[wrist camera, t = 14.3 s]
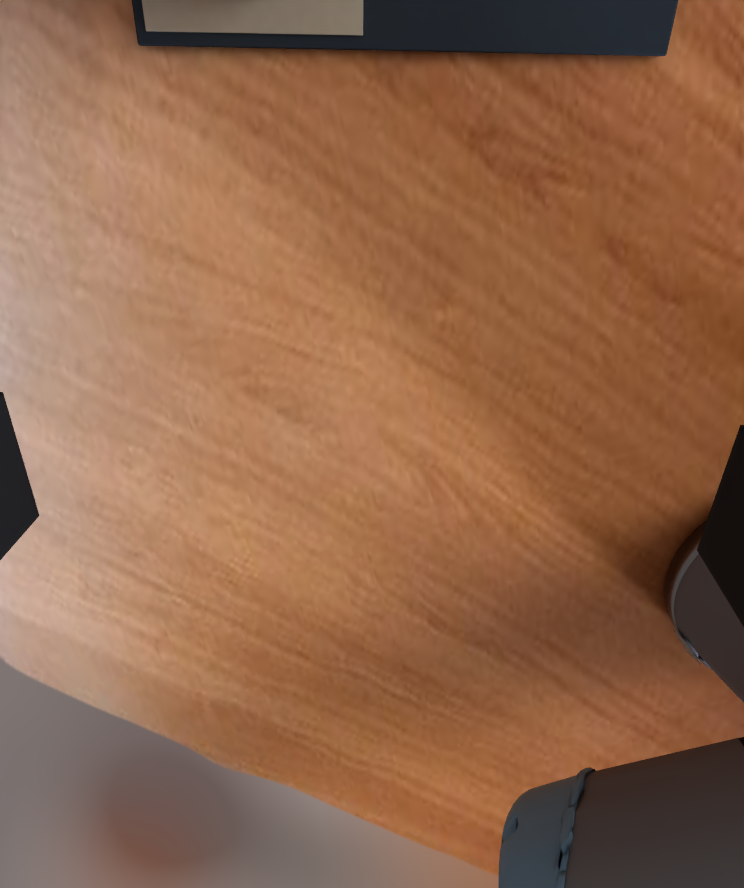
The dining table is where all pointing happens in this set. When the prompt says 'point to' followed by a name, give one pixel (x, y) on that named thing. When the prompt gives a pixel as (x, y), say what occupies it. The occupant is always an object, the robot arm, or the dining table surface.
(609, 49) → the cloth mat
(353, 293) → the dining table surface
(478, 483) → the dining table surface
